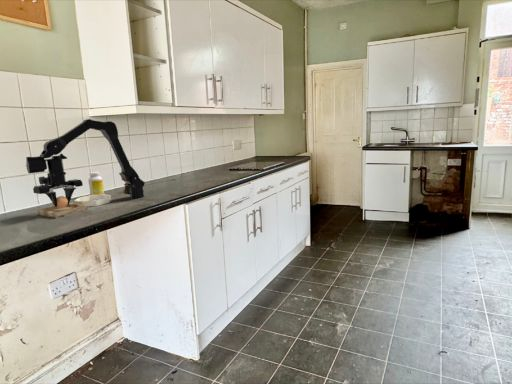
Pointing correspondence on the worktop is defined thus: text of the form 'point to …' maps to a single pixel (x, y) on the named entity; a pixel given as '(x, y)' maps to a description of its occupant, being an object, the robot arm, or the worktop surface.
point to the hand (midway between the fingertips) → (62, 205)
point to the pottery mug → (126, 188)
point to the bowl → (93, 200)
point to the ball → (61, 201)
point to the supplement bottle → (95, 184)
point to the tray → (61, 210)
